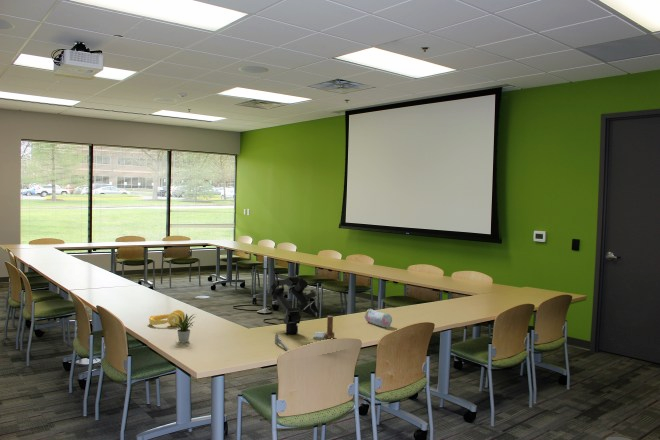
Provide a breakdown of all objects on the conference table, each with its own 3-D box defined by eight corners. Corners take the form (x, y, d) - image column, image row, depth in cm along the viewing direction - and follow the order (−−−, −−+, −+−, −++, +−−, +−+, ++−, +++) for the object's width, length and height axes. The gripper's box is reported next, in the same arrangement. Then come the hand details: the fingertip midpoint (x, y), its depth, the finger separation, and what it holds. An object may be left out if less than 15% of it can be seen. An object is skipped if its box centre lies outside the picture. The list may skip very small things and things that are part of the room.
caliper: (274, 344, 292) (274, 332, 292) (276, 343, 293) (276, 332, 293) (289, 353, 274) (289, 341, 274) (290, 353, 275) (291, 341, 275)
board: (313, 338, 304) (313, 336, 304) (315, 333, 317) (315, 331, 317) (323, 339, 304) (323, 337, 304) (325, 333, 317) (325, 331, 316)
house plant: (203, 339, 298) (203, 310, 298) (191, 345, 285) (192, 315, 284) (180, 337, 302) (181, 309, 301) (168, 343, 288) (168, 314, 288)
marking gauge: (325, 339, 304) (325, 317, 303) (325, 336, 309) (326, 315, 309) (333, 339, 303) (334, 317, 303) (334, 337, 309) (334, 315, 309)
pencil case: (363, 322, 351) (364, 308, 351) (374, 321, 356) (374, 307, 355) (382, 328, 333) (382, 314, 333) (392, 327, 338) (393, 313, 337)
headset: (154, 320, 342) (154, 307, 341) (186, 322, 342) (186, 308, 342) (145, 327, 324) (145, 312, 324) (179, 328, 324) (179, 314, 324)
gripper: (304, 288, 300) (322, 308, 298) (312, 283, 318) (330, 302, 316) (291, 301, 302) (309, 321, 300) (300, 295, 320) (317, 314, 318)
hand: (317, 314), depth 308 cm, fingers open, 9 cm apart
